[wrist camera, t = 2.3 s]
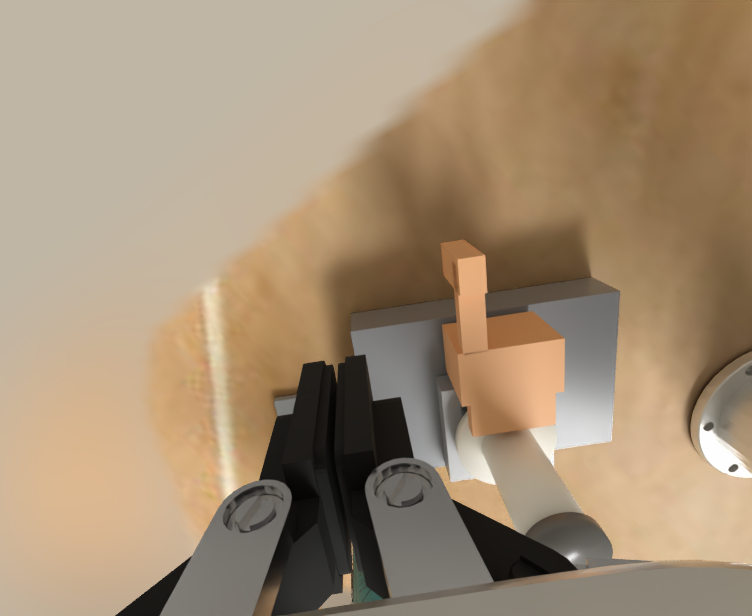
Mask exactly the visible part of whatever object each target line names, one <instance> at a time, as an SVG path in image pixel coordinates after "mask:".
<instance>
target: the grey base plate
mask: <svg viewBox="0 0 752 616" xmlns="http://www.w3.org/2000/svg"><path fill="white" fill-rule="evenodd" d="M619 298H620V291H619V290H616V289H614V288H612V287H610V286H608V285H606V284H604V283H602V282H600V281H598V280H596V279H594V278H592V277H590V278H584V279H577V280H570V281H564V282H557V283H551V284H544V285H537V286H531V287H524V288H517V289H511V290H504V291H497V292H491V293H485V306H486V318H489V317H496V316H503V315H509V314H516V313H522V312H529V311H533V312H534V313H535V314H537V315H538V316H539V317H540V318H541V319H543V320H544V321H545V322H546V323H547V324H548V325H550V326H551V327H552V328H553V329H554V330H556V331H557V332H558V333H559V334H560V335H561V336H563V337H564V338H565V378H564V392H558V393H556V425H554V426H555V429H556V435H557V440H556V446H555V450H557V449H563V448H570V447H577V446H583V445H590V444H597V443H603V442H610V441H612V424H613V406H614V388H615V370H616V352H617V334H618V316H619ZM456 322H457V319H456V307H455V298H451V299H444V300H438V301H431V302H424V303H418V304H411V305H405V306H398V307H391V308H385V309H378V310H371V311H365V312H358V313H351V328H350V332H351V338H352V344H353V349H354V355H355V356H357V355H363V354H365V355H366V360H367V366H368V372H369V378H370V384H371V390H372V396H373V401H376V400H383V399H389V398H396V397H401V400H402V405H403V409H404V414H405V418H406V423H407V428H408V432H409V437H410V441H411V446H412V451H413V455H414V458H415V459H418V460H422V461H425V462H426V463H428V464H430V465H431V466H433V467H434V468H437V467H443V466H446V468H447V472H448V475H449V478H450V482H455V481H462V480H468V479H475V478H474V477H473V476H472V475H470V474H469V473H468V472H467V471H466V469H465V468H464V466H463V465H462V463H461V460H460V457H459V454H458V452H457V449H456V444H455V434H456V430H457V426H458V424H459V422H460V420H461V419H462V417H463V416H464V414H465V413H466V412H467V406H465V407H462V406H461V403H460V401H459V399H458V396H457V394H456V392H455V390H454V387H453V385H452V383H451V380H450V378H449V376H448V373H447V371H446V363H445V353H444V343H443V332H442V325H443V324H449V323H456ZM550 462H551V464H552V465H553V467H554V452H553V454H552V456H551V458H550Z"/></svg>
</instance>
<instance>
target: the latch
mask: <svg viewBox="0 0 752 616" xmlns="http://www.w3.org/2000/svg"><path fill="white" fill-rule="evenodd" d="M441 254H442V265H443V275H444V276H445V278H446V279H447V280H448V282H449V283H450V284H451V285H452V287H453V288H454V295H455V307H456V319H457V322H456V323H449V324H443V325H442V332H443V343H444V353H445V363H446V371H447V373H448V376H449V378H450V380H451V383H452V385H453V387H454V390H455V392H456V394H457V396H458V399H459V401H460V403H461V406H462V407H465V406H467V411H468V424H469V429H470V431H471V434H472V436H473V437H477V436H484V435H491V434H497V433H504V432H511V431H517V430H524V429H531V428H537V427H544V426H550V425H556V393H558V392H564V378H565V338H564V337H563V336H561V335H560V334H559V333H558V332H557V331H556V330H554V329H553V328H552V327H551V326H550V325H548V324H547V323H546V322H545V321H544V320H543V319H541V318H540V317H539V316H538V315H537V314H535V313H534V312H533V311H529V312H522V313H516V314H509V315H503V316H496V317H489V318H486V306H485V293H487V277H486V259H485V255H484V254H483V253H482V252H480V251H479V250H477V249H476V248H475V247H473V246H472V245H471V244H469V243H468V242H466V241H465V240H457V241H450V242H444V243H441Z"/></svg>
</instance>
